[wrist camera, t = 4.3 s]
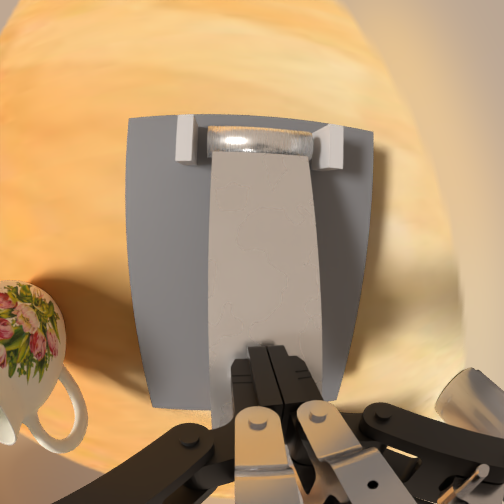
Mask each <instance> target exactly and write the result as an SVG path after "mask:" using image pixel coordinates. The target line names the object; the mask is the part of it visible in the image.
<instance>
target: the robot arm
mask: <svg viewBox="0 0 504 504" xmlns="http://www.w3.org/2000/svg"><path fill="white" fill-rule="evenodd" d="M231 399H232V410H233V418H232V420H231V421H230V422H229V423H227V424H226V425H224V426H222V427H219V428H216V429H212V430H208V429H207V428H206V427H204V426H202V425H199V424H195V423H184V424H180V425H177V426H175V427H173V428H172V429H170V430H169V431H168V432H166V433H165V434H164V435H162V436H161V437H159V438H158V439H157V440H155V441H154V442H152V443H151V444H150V445H148V446H147V447H145V448H144V449H143V450H141V451H140V452H138V453H137V454H135V455H134V456H132V457H131V458H129V459H128V460H126V461H125V462H123V463H122V464H120V465H119V466H117V467H115V468H114V469H112V470H111V471H109V472H108V473H106V474H104V475H103V476H101V477H99V478H98V479H96V480H94V481H93V482H91V483H89V484H88V485H86V486H84V487H82V488H80V489H79V490H77V491H75V492H73V493H72V494H70V495H68V496H66V497H64V498H62V499H60V500H58V501H56V502H54V503H52V504H201V503H202V502H203V501H204V500H205V499H206V498H207V497H208V496H209V495H211V494H212V493H213V492H214V491H215V490H216V488H217V487H218V486H220V485H224V484H227V483H230V482H234V481H235V504H300V499H299V494H298V489H297V486H298V488H299V491H300V493H301V496H302V499H303V504H434V503H437V504H502V501H504V391H503V390H501V389H500V388H499V387H498V386H497V385H496V384H494V383H493V382H492V381H491V380H490V379H489V378H487V377H486V376H485V375H484V374H483V373H482V372H481V371H479V370H475V369H474V368H468V369H465V370H464V371H462V372H461V373H460V374H458V375H457V376H456V377H455V378H454V379H453V380H452V381H451V382H450V383H449V384H448V386H447V387H446V388H445V389H444V391H443V392H442V394H441V395H440V397H439V399H438V401H437V403H436V406H435V410H436V412H437V413H438V414H439V416H440V417H441V418H442V419H443V420H444V421H445V423H443V422H440V421H437V420H433V419H430V418H427V417H424V416H421V415H418V414H416V413H413V412H410V411H407V410H404V409H402V408H399V407H396V406H394V405H391V404H388V403H382V402H379V403H373V404H371V405H369V406H367V407H366V408H365V410H364V412H363V413H342V412H339V411H338V409H337V408H336V407H335V406H334V405H332V404H331V403H329V402H326V401H324V399H323V397H322V395H321V393H320V391H319V389H318V387H317V385H316V383H315V381H314V379H313V378H312V375H311V373H310V371H309V369H308V367H307V365H306V363H305V362H304V361H303V360H302V359H300V358H299V357H298V356H297V355H296V356H288V354H287V351H286V349H285V346H284V345H273V346H266V347H265V346H254V347H247V352H246V359H235V360H234V362H233V363H232V365H231ZM285 445H287V447H288V450H289V453H288V457H287V456H286V450H285ZM387 446H390V447H393V448H395V449H398V450H401V451H403V452H406V453H409V454H412V455H414V456H417V458H410V457H408V456H405V455H402V454H399V453H397V452H394V451H392V450H389V449H387ZM287 460H288V461H287ZM288 463H289V466H290V467H289V466H288ZM296 483H297V484H296ZM416 497H417V498H416ZM419 498H420V499H419ZM422 499H423V500H422ZM425 500H426V501H425ZM428 501H430V502H428ZM431 502H433V503H431Z"/></svg>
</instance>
